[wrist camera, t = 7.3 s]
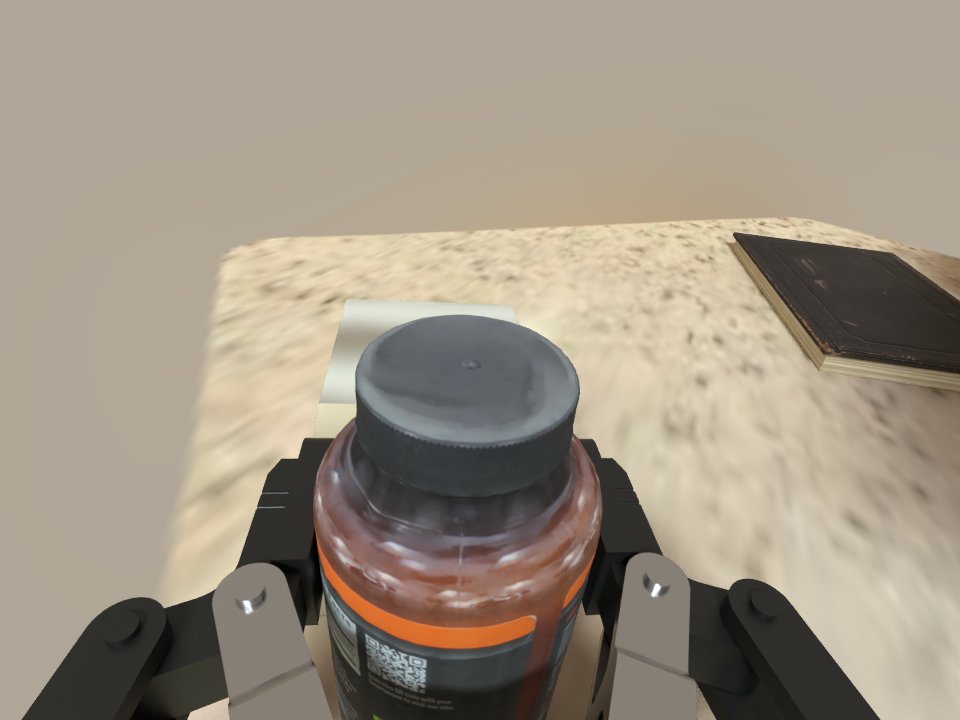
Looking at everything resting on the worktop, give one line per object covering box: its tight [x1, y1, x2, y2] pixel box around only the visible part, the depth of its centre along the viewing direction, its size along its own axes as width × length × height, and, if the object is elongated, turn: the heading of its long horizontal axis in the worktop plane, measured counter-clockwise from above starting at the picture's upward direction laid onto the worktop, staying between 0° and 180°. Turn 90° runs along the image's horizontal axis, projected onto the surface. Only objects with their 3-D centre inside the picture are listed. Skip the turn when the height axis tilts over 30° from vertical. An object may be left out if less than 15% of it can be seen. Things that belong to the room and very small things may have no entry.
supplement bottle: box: [313, 315, 603, 720], centre depth 12 cm, size 6×6×11 cm
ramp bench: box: [314, 299, 518, 616], centre depth 26 cm, size 18×10×4 cm, turn 5°
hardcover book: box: [733, 233, 960, 392], centre depth 44 cm, size 16×23×2 cm
